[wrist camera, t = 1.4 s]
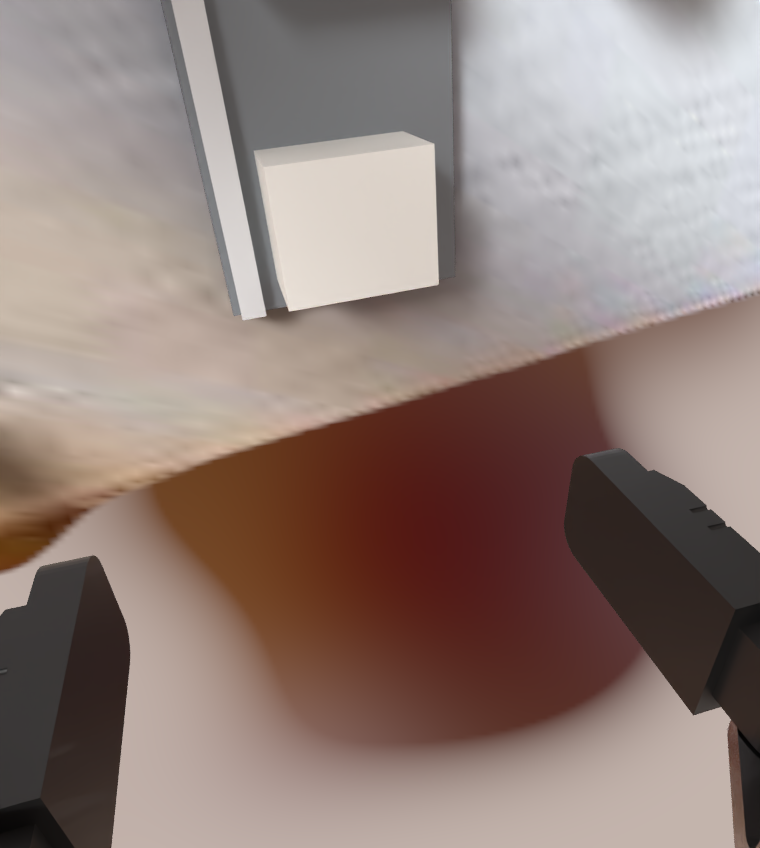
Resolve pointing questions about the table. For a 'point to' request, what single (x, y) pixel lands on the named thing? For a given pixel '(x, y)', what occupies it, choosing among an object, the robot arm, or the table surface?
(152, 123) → the table surface
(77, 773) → the robot arm
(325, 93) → the rail board
